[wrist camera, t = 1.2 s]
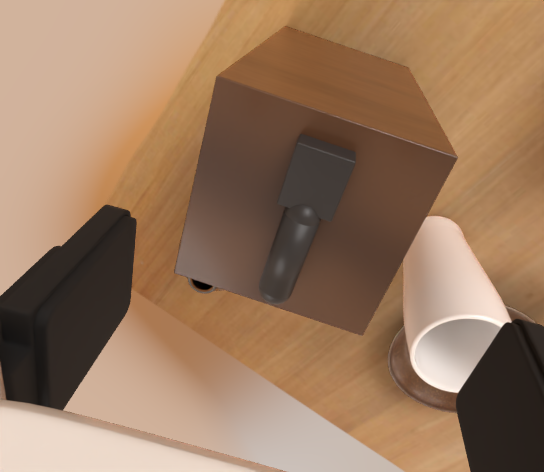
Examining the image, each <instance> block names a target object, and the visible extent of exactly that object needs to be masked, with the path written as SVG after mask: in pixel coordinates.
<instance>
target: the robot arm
mask: <svg viewBox="0 0 544 472" xmlns="http://www.w3.org/2000/svg"><path fill="white" fill-rule="evenodd" d="M135 236H136V219H135V218H132V217H131V215H130V212H129V211H128V210H125V209H121V208H118V207H114V206H110V205H105V206H103V207H102V208H101V209H100V210H99V211H98V212H97V213H96V214H95V215H94V216H93V217H92V218H91V219H90V220H89V221H87V222H86V223H85V225H83V226H82V227H81V228H80V229H79V230H78V231H77V232H76V233H75V234H74V235H73V236H72V237H71V238H70V239H69V240H68V241H67V242H66V243H65V244H64V245H62V246H56V247H53V248H52V249H51V250H49V251H48V252H47V253H46V254H45V255H44V256H43V257H42V258H41V259H40V260H39V261H38V262H36V263H35V264H34V265H33V266H32V267H31V268H30V269H29V270H28V271H27V272H26V273H25V274H24V275H23V276H22V277H20V278H19V279H18V280H17V281H16V282H15V283H14V284H13V285H12V286H11V287H10V288H9V289H8V290H6V292H4V293H3V294H2V295H1V296H0V472H286V471H283V470H279V469H275V468H272V467H268V466H265V465H261V464H258V463H254V462H251V461H247V460H244V459H240V458H236V457H233V456H229V455H226V454H222V453H219V452H215V451H211V450H208V449H204V448H201V447H197V446H194V445H190V444H186V443H183V442H179V441H176V440H172V439H169V438H165V437H161V436H158V435H154V434H151V433H147V432H143V431H140V430H136V429H132V428H129V427H125V426H120V425H117V424H113V423H109V422H106V421H101V420H98V419H94V418H90V417H86V416H82V415H79V414H75V413H71V412H67V411H63V409H64V408H65V406H66V405H67V403H68V401H69V400H70V398H71V397H72V395H73V394H74V392H75V391H76V389H77V388H78V386H79V384H80V383H81V382H82V380H83V379H84V377H85V375H86V374H87V372H88V371H89V369H90V368H91V366H92V365H93V363H94V362H95V360H96V359H97V357H98V355H99V354H100V353H101V351H102V349H103V348H104V346H105V345H106V343H107V342H108V340H109V339H110V337H111V336H112V334H113V333H114V331H115V330H116V328H117V327H118V325H119V324H120V322H121V321H122V319H123V318H124V316H125V314H126V313H127V310H128V308H129V305H130V299H131V287H132V274H133V262H134V249H135ZM456 410H457V414H458V419H459V423H460V427H461V432H462V436H463V440H464V445H465V449H466V454H467V458H468V462H469V467H470V471H471V472H544V327H543V326H542V325H539V324H536V323H532V322H529V321H525V320H521V319H515V320H513V321H512V322H511V323H510V322H506V323H505V324H504V325H503V326H502V327H501V329H500V330H499V332H498V333H497V335H496V336H495V338H494V340H493V341H492V343H491V344H490V346H489V347H488V349H487V350H486V352H485V353H484V355H483V356H482V358H481V359H480V361H479V362H478V364H477V365H476V367H475V368H474V370H473V371H472V373H471V374H470V376H469V377H468V379H467V380H466V382H465V383H464V385H463V386H462V388H461V389H460V391H459V392H458V394H457V397H456Z"/></svg>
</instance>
